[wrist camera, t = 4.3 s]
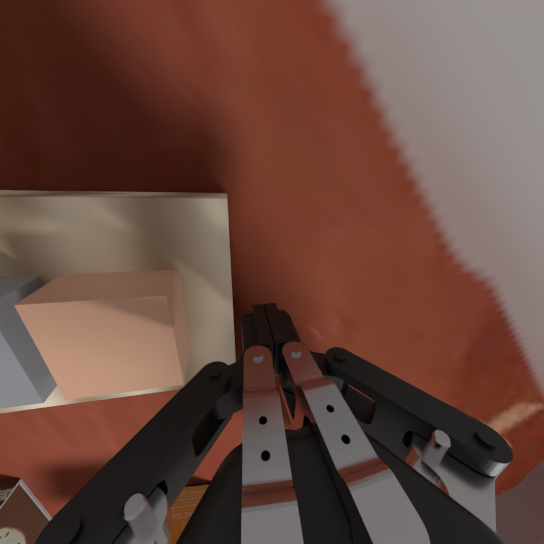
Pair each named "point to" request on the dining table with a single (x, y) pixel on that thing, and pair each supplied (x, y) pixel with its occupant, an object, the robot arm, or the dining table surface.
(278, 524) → the robot arm
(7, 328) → the tile
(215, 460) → the dining table surface
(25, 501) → the food container
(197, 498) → the small box
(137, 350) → the tile
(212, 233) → the beige slab
